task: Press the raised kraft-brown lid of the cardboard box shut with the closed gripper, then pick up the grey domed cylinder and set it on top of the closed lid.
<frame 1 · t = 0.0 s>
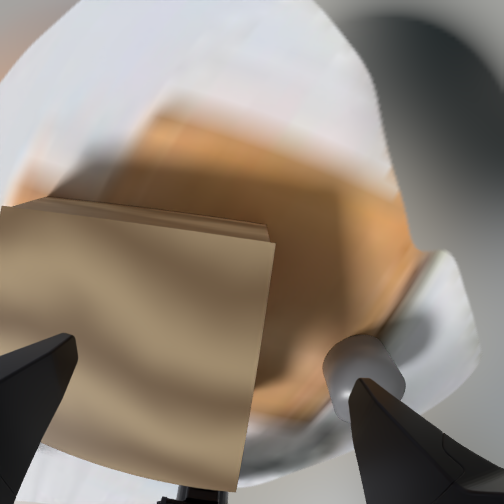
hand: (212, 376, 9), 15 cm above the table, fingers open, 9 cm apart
lid: (99, 358, 16), point 8 cm above the table, hinge at 20.0°
grey domed cylinder: (354, 362, 26), on the table
box: (139, 305, 24), on the table
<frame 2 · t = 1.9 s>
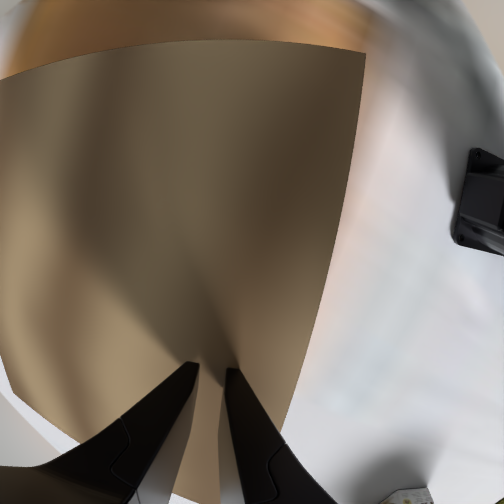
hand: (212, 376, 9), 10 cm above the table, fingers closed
lid: (78, 313, 10), point 8 cm above the table, hinge at 16.0°, touching gripper
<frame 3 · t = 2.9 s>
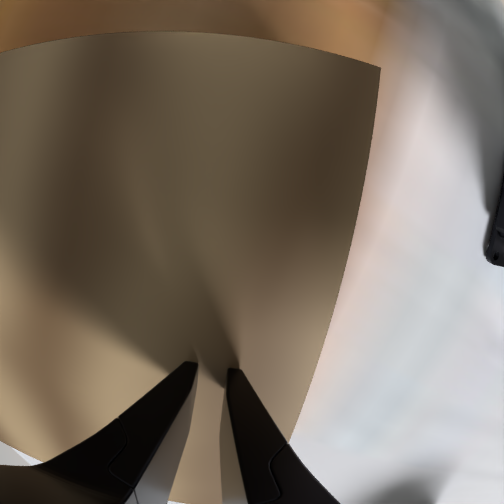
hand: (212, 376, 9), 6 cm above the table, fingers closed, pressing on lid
lid: (61, 338, 9), point 5 cm above the table, hinge at -0.4°, touching box, gripper
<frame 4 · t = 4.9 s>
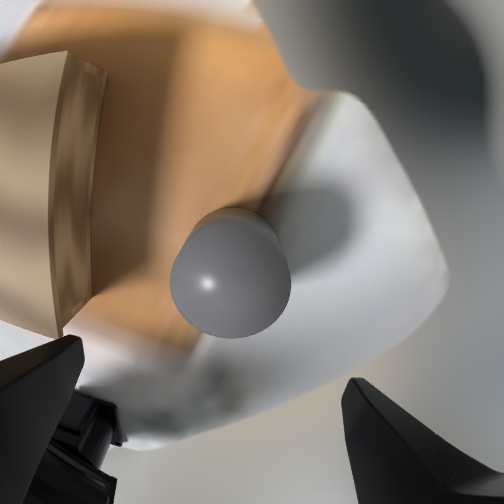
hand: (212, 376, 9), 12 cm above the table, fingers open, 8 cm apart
grey domed cylinder: (233, 254, 20), on the table
box: (3, 182, 18), on the table
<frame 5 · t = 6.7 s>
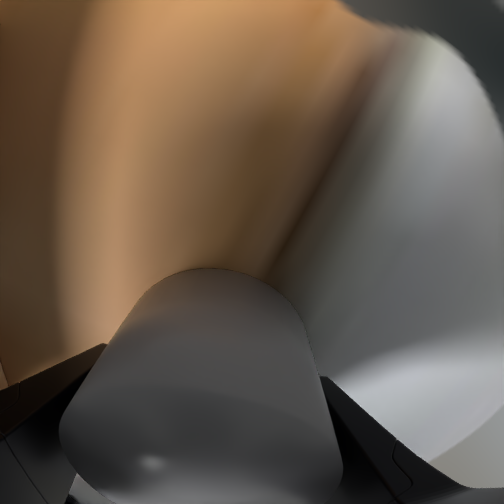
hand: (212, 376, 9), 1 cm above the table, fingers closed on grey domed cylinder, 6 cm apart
grey domed cylinder: (215, 355, 10), on the table, touching gripper
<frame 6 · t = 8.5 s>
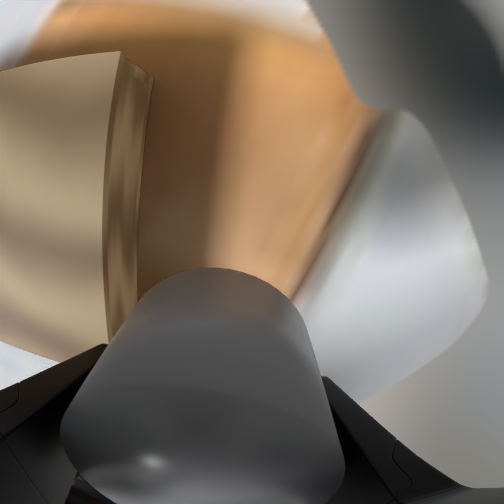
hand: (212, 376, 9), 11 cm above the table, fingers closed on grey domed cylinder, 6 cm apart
grey domed cylinder: (216, 354, 10), point 10 cm above the table, touching gripper
box: (28, 198, 18), on the table
when the fingers open (8 cm above the table, at t = 10.3 s): grey domed cylinder drops 1 cm, resting on lid.
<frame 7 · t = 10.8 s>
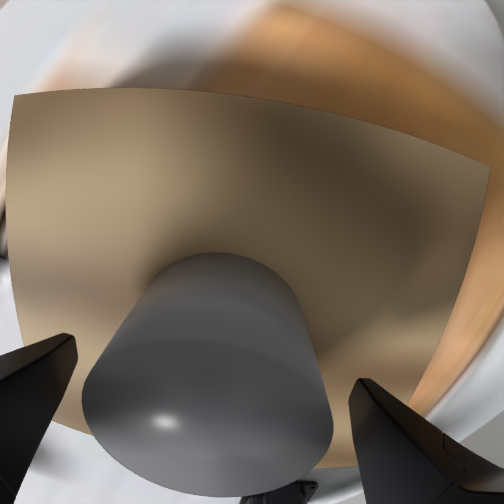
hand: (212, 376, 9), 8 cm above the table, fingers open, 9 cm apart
lid: (218, 333, 11), point 5 cm above the table, hinge at -0.4°, touching box, grey domed cylinder
grey domed cylinder: (219, 332, 11), point 6 cm above the table, touching lid
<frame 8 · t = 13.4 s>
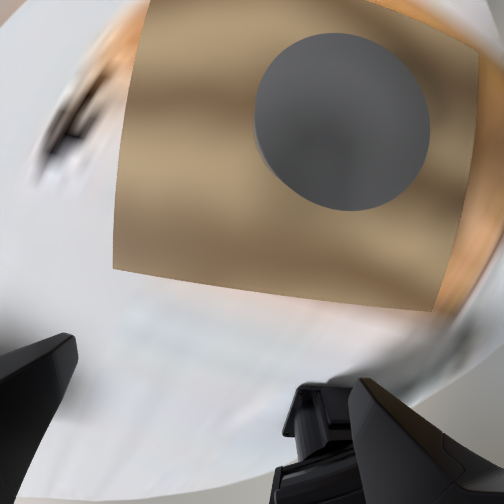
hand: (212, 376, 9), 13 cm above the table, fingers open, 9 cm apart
lid: (315, 134, 14), point 5 cm above the table, hinge at -0.4°, touching box, grey domed cylinder
grey domed cylinder: (318, 129, 14), point 6 cm above the table, touching lid
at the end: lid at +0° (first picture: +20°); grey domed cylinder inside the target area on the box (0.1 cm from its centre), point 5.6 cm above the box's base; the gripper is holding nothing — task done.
